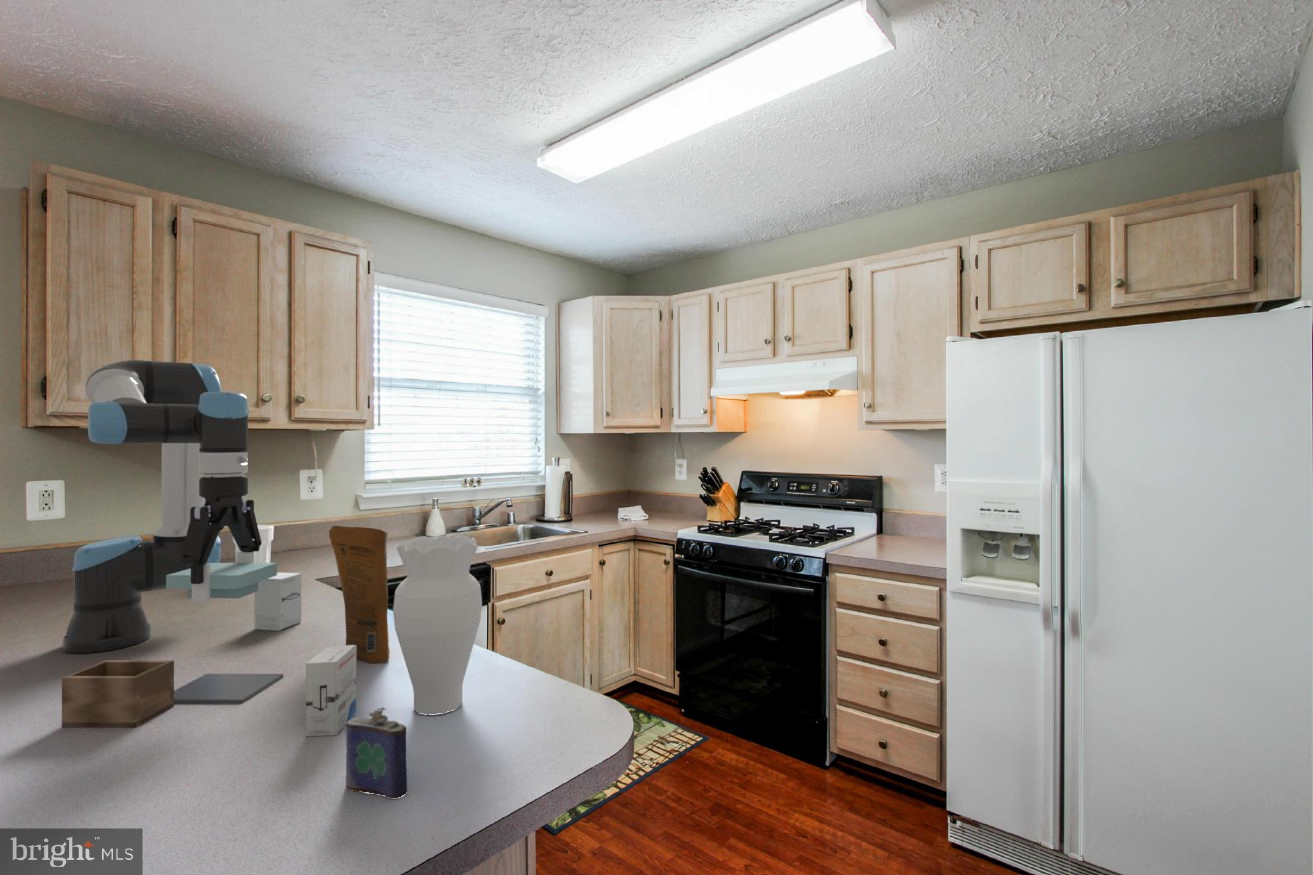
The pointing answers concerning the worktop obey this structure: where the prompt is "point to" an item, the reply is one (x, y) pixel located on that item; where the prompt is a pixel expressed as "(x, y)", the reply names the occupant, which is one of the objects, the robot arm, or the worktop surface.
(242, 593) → the lid
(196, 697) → the mat
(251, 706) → the worktop surface
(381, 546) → the pancake mix bag
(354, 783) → the flask
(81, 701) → the crate
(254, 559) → the cup
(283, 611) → the supplement box
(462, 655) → the vase
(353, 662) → the ink box
